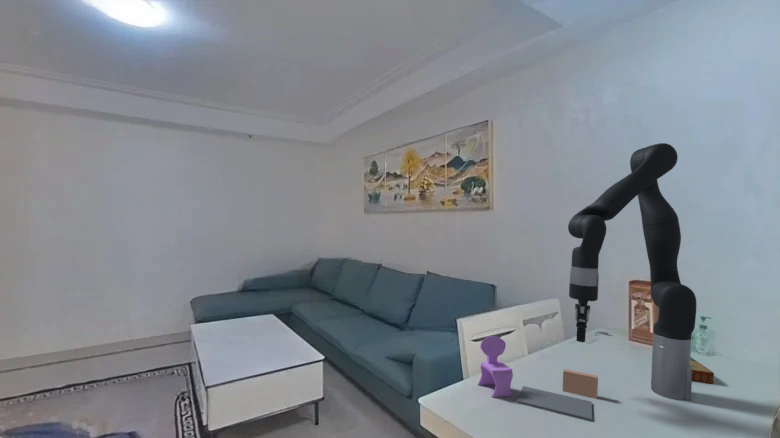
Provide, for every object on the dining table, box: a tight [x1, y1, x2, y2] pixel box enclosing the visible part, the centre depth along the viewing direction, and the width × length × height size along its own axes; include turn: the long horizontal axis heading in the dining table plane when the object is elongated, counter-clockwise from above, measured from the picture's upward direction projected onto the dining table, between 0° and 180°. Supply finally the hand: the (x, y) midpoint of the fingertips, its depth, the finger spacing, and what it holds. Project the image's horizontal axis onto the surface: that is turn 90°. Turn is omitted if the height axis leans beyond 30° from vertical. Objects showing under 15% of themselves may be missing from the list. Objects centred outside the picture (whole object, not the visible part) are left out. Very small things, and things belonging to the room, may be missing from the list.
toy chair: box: [477, 335, 514, 398], centre depth 110 cm, size 8×9×15 cm
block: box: [562, 368, 599, 400], centre depth 111 cm, size 9×2×6 cm, turn 63°
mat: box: [516, 385, 593, 422], centre depth 104 cm, size 18×11×1 cm, turn 63°
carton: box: [690, 356, 715, 385], centre depth 131 cm, size 8×16×4 cm, turn 163°
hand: (581, 338), depth 111 cm, fingers open, 8 cm apart
